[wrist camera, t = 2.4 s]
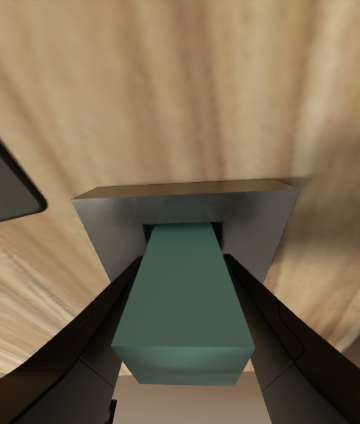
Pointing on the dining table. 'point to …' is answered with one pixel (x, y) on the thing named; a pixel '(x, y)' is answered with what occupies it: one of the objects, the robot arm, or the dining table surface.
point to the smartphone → (16, 191)
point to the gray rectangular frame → (188, 218)
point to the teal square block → (183, 313)
